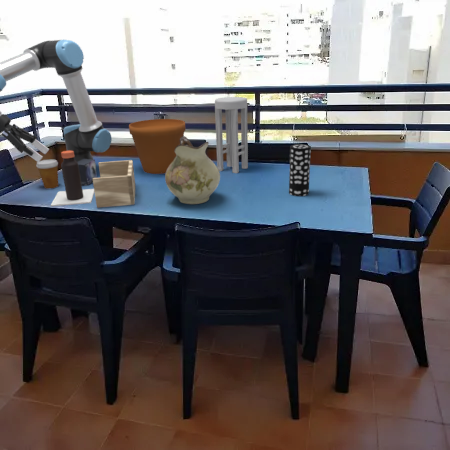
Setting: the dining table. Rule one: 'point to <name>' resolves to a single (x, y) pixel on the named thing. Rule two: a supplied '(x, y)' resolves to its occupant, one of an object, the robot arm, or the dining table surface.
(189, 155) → the pitcher
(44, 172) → the disposable coffee cup
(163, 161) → the flowerpot
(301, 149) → the white-spotted black cylinder
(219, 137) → the stool
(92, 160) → the small box
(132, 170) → the crate
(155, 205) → the dining table surface
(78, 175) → the vinegar
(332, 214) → the dining table surface
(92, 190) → the mat
